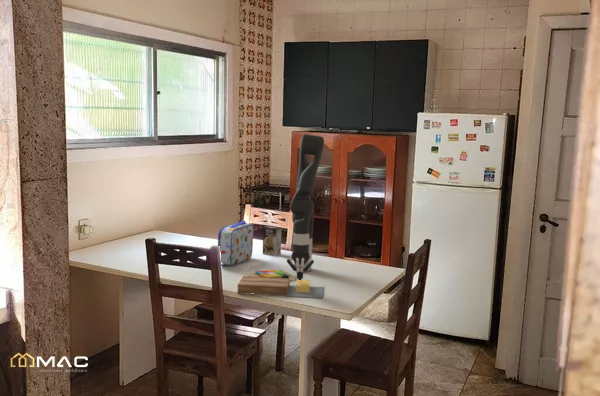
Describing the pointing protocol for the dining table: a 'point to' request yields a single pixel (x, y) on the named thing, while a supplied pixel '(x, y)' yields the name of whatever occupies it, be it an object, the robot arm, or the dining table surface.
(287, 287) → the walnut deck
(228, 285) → the dining table surface
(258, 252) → the dining table surface
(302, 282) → the ochre tile
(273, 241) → the coffee box
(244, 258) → the lunch box
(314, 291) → the slate mat
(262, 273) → the wooden puzzle
